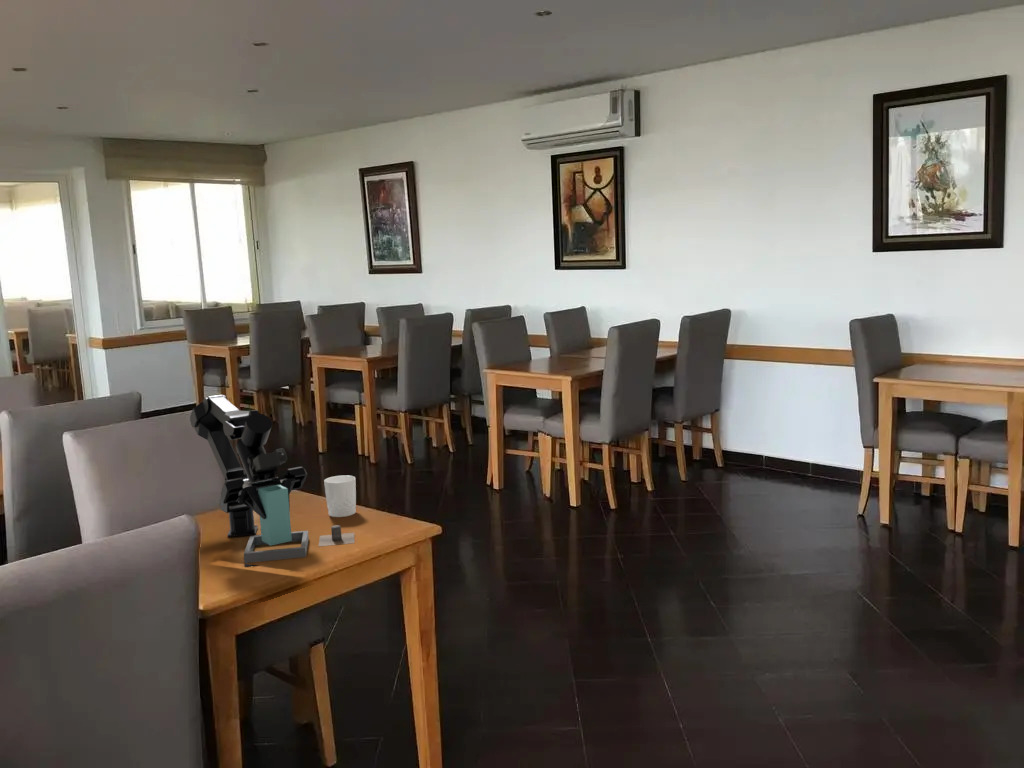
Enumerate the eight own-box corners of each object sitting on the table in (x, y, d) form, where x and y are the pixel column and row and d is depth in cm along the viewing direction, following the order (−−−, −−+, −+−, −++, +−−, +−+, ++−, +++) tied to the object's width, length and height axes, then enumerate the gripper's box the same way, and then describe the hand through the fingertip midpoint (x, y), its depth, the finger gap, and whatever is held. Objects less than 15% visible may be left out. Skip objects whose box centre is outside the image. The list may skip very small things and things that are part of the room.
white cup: (320, 520, 220) (317, 482, 218) (337, 511, 227) (334, 474, 225) (347, 522, 217) (344, 483, 215) (363, 513, 224) (361, 475, 223)
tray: (251, 548, 199) (250, 535, 199) (309, 542, 201) (308, 530, 201) (244, 567, 187) (243, 553, 186) (306, 561, 189) (305, 547, 188)
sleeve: (261, 540, 194) (257, 488, 192) (282, 535, 197) (278, 484, 195) (270, 545, 190) (266, 492, 188) (291, 540, 193) (287, 488, 191)
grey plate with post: (320, 539, 203) (318, 523, 203) (354, 536, 205) (353, 520, 204) (318, 550, 196) (317, 533, 195) (354, 547, 197) (353, 530, 196)
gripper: (220, 445, 188) (243, 504, 181) (301, 432, 199) (325, 487, 192) (211, 474, 195) (232, 532, 188) (289, 460, 206) (312, 514, 199)
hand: (277, 515), depth 192 cm, fingers closed on sleeve, 5 cm apart
